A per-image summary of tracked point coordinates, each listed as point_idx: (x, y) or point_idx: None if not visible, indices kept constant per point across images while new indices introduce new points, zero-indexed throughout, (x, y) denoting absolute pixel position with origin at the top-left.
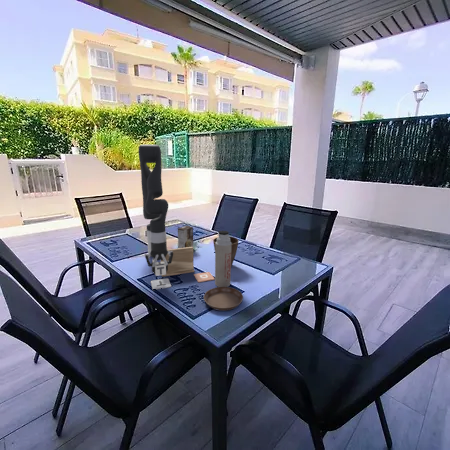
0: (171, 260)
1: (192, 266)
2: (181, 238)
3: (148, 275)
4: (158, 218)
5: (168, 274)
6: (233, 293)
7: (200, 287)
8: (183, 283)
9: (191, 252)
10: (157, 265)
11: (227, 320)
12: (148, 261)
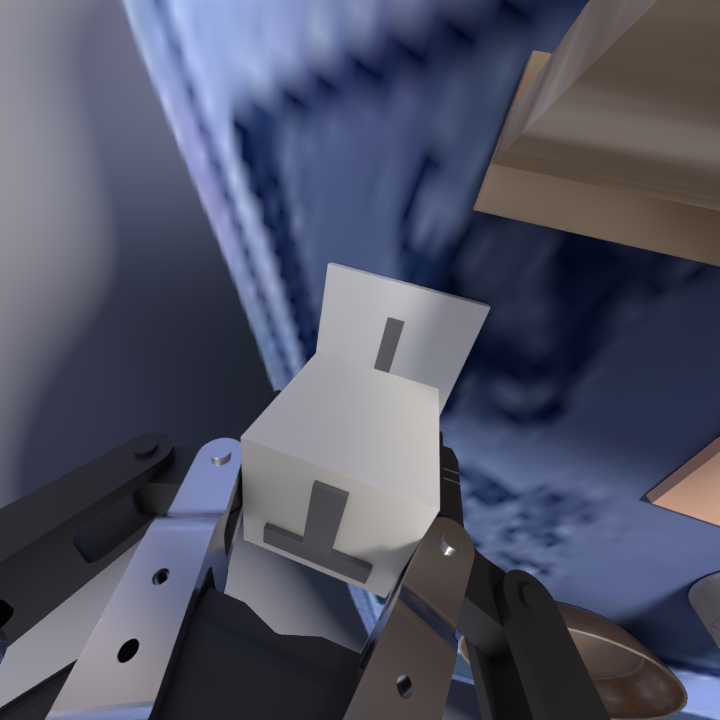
0: (518, 706)
1: None
2: None
3: (355, 65)
4: None
5: (554, 227)
6: (649, 667)
7: (586, 534)
8: (540, 439)
9: None
10: (275, 542)
11: (462, 658)
12: (75, 572)
